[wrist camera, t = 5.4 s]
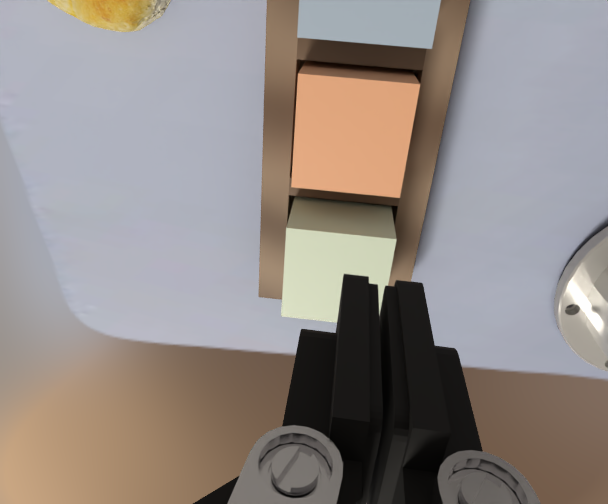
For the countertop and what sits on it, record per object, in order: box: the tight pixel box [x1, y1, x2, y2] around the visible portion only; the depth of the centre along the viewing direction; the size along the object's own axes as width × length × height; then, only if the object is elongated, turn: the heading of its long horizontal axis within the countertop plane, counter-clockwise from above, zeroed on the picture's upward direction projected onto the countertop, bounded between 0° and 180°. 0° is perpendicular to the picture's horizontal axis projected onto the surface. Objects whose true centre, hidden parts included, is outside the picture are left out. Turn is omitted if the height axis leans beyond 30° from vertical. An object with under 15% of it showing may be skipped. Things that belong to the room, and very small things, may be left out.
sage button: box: [281, 196, 397, 322], centre depth 27 cm, size 5×5×4 cm
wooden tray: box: [259, 0, 470, 299], centre depth 26 cm, size 22×9×3 cm, turn 176°
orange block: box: [291, 61, 420, 198], centre depth 24 cm, size 5×5×4 cm
